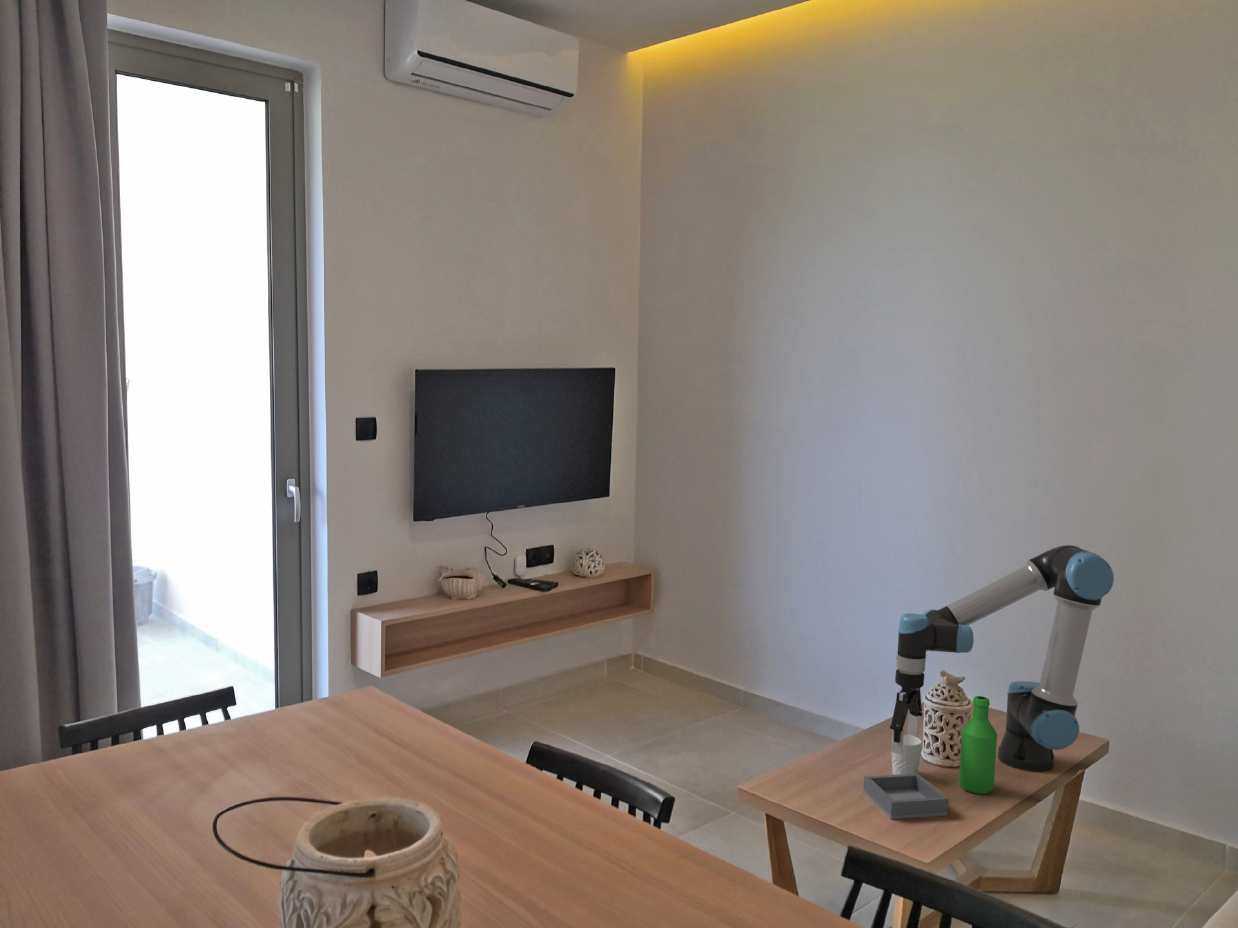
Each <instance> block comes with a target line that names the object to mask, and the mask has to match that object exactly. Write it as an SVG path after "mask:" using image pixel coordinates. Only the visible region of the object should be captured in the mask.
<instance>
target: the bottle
mask: <svg viewBox="0 0 1238 928" xmlns="http://www.w3.org/2000/svg"><path fill="white" fill-rule="evenodd" d="M972 704H973V707H972V708H973V711H972V717H971V718H970V719H969V720H968V722H967V723H966V724H965V725H964V726H963V727H962V729H961V738H960V739H961V740H960V760H959V775H958V784H959V786H961V788H962V789H964V790H965V791H967V792H969V793H972V794H978V795H985V794H988V793H991V792H992V791H994V787H995V775H996V774H995V772H996V760H997V759H996V758H997V757H996V756H997V744H998V743H997V742H998V734H997V731H996V730H995V728H994V726H993V725H992V723H991V722H990V720H989V708H990V707H989V706H990V705H991V703H990V699H989V698H988V697H985V696H982V695H977V696H974V697H973V699H972Z"/></svg>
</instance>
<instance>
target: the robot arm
mask: <svg viewBox="0 0 1238 928" xmlns="http://www.w3.org/2000/svg"><path fill="white" fill-rule="evenodd" d="M1114 576H1115V575H1114V572H1113V569H1112V567H1111V565H1110V564H1109V562H1108V561H1106V560H1105V559H1104V558H1103V557H1101V556H1100V555H1099V554H1097V553H1095V552H1092V551H1088V550H1086V549H1083V548H1081V547H1079V546H1075V545H1070V544H1069V545H1068V544H1067V545H1060V546H1056V547H1054V548H1050V549H1049V550H1046V551H1044V552H1043V553H1040V554H1038V555H1036V556H1034V557H1033V558H1030V559H1028V560H1027V561H1026V562H1025V566H1022V567H1021V568H1019V569H1017V570H1015V571H1012V572H1011V573H1009V574H1007V575H1004V576H1003V577H1001V578H999V579H997V580H995V581H993V582H991V583H989V584H988V585H984V587H982V588H980V589H978V590H975V591H973V592H972V593H970V594H967V595H965V596H964V597H961V598H960V599H957V600H955V601H953V602H952V603H950V604H948V605H946V606H944V607H942V608H940V609H938V610H937V609H928V610H926V611H924V612H923V613H922V614H919V613H914V612H913V613H911V612H910V613H909V612H908V613H904V614H902V615H901V617H900V619H899V625H898V630H897V631H898V638H897V639H898V641H897V654H896V656H895V657H894V658H895V660H896V668H897V669H895V676H894V677H895V679H894V681H895V683H896V685H898V686H900V687H901V688H900V689H901V690H899V692H897V693H896V699H895V706H894V709H893V714H892V720H891V722H890V723H891V724H890V725H889V729H890V730H892V736H893V739H892V738H891V753H892V752H893V753H897V754H901V755H902V751H903V738H904V734H905V730H904V727H905V722H906V720H907V718H908V720H907V731H906V735H911V736H915V737H917V738H918V736H919V735H918V734H919V733H918V732H919V723H920V721H919V720H920V717H923V712H922V711H923V706H922V696H921V688H923V687H924V685H925V673H924V672H925V671H926V660H927V659H926V658H927V652H941V653H956V654H960V653H963V654H967V653H970V652H972V649H973V648H974V642H975V641H974V639H975V638H974V632H973V628H972V627H971V626H970V625H972V624H973V623H977V622H978V621H979V620H982V619H984V618H986V617H988V616H990V615H992V614H995V613H996V612H999V611H1000V610H1002V609H1004V608H1006V607H1009V606H1011V605H1012V604H1014V603H1016V602H1018V601H1021V600H1022V599H1024V598H1026V597H1028V596H1030V595H1032V594H1034V593H1036V592H1038V591H1044V592H1047V591H1048V590H1051V589H1053V588H1054V590H1053V593H1052V594H1053V595H1052V596H1054V598H1055V599H1056V601H1057V605H1056V609H1055V613H1054V618H1053V623H1052V627H1051V632H1050V636H1049V640H1048V645H1047V650H1046V654H1045V658H1044V662H1043V668H1042V672H1041V677H1040V682H1036V681H1025V680H1022V681H1021V680H1020V681H1019V680H1017V681H1013V682H1010V683H1009V685H1008V691H1007V705H1006V721H1005V722H1006V723H1005V733H1004V734H1003V736H1002V739H1001V740H1000V744H999V746H998V749H997V758H998V760H999V761H1000V762H1002V763H1003V764H1005V765H1007V766H1009V767H1012V768H1016V769H1018V770H1022V771H1023V770H1024V771H1029V772H1045V771H1050V770H1052V769H1054V767H1055V761H1056V760H1055V759H1056V758H1055V755H1054V751H1053V750H1055V751H1056V750H1057V751H1058V750H1064V749H1066V748H1067V747H1069V746H1071V745H1072V744H1074V743H1075V742H1076V741H1077V739H1078V737H1079V733H1080V723H1079V721H1078V719H1077V718H1076V714H1077V713H1076V712H1077V710H1078V709H1077V708H1078V703H1079V702H1078V701H1077V699H1076V698H1075V697H1074V696H1075V695H1074V694H1075V693H1074V692H1075V689H1076V683H1077V679H1078V675H1079V671H1080V666H1081V661H1082V657H1083V652H1084V649H1085V644H1086V639H1087V636H1088V631H1089V627H1090V622H1091V618H1092V613H1093V611H1094V610H1096V609H1098V608H1099V607H1101V602H1102V600H1103V599H1102V598H1104V597H1105V596H1106V595H1108V594H1109V592H1111V590H1112V588H1113V586H1114V582H1115V581H1114V580H1115V579H1114V578H1115V577H1114ZM908 712H909V714H908ZM907 716H908V717H907Z"/></svg>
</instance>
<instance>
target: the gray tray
mask: <svg viewBox="0 0 1238 928" xmlns="http://www.w3.org/2000/svg"><path fill="white" fill-rule="evenodd" d="M863 793H864V794H865V795H866V797H867V798H869V800H871V801H872V802H873V803H874V804H875V805H876V807H877V808H878V809H880V810H881V811H882V812H883V813H884V814H885V815H886V816H887V817H888V818H889V819H890V820H901V819H916V817H917V818H928V817H929V818H930V817H942V816H943V817H945V816H948V815H949V801H950V799H949V797H947V796H946V795H945V794H943V793H942V792H941V791H940V790H939V789H938V788H936V787H935V786H934V785H932V784H931V783H930V782H929V781H927V780H926V778H924V777H923V776H922V775H921V774H919V773H918V774H901V775H893V774H888V775H872V776H871V775H869V776H868V775H867V776H863Z"/></svg>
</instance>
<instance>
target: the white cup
mask: <svg viewBox="0 0 1238 928" xmlns="http://www.w3.org/2000/svg"><path fill="white" fill-rule="evenodd" d="M892 739H893V735H892V737H891V740H892ZM921 750H922V739H920V738H918V736H917V737H915V736H911V735H907V734H905V733H904V738H903V751H902V755H901V754H897V753H893V752H892V751H891V772H892V775H901V774H919V773H918V772H919V767H920V760H921V752H922V751H921Z"/></svg>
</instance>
